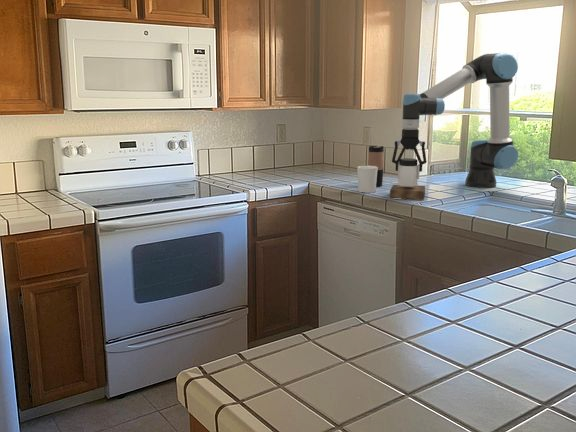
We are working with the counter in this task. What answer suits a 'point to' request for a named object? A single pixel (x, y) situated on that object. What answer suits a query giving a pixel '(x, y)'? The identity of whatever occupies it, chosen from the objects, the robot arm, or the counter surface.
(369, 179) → the candle holder
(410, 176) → the jar
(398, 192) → the walnut plinth
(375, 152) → the travel mug
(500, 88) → the robot arm
